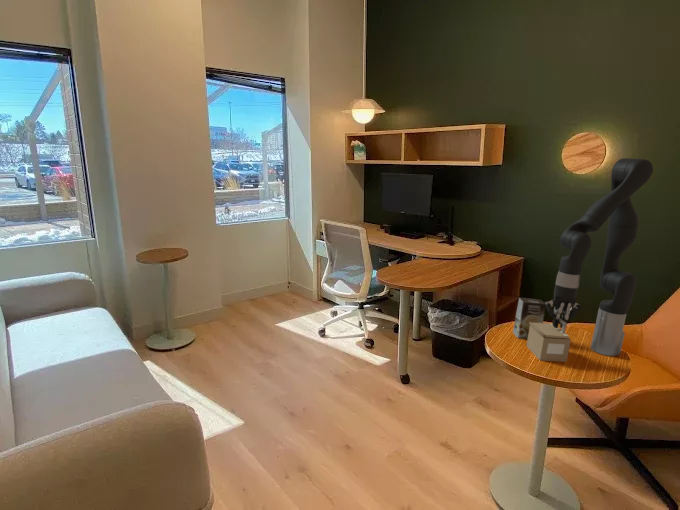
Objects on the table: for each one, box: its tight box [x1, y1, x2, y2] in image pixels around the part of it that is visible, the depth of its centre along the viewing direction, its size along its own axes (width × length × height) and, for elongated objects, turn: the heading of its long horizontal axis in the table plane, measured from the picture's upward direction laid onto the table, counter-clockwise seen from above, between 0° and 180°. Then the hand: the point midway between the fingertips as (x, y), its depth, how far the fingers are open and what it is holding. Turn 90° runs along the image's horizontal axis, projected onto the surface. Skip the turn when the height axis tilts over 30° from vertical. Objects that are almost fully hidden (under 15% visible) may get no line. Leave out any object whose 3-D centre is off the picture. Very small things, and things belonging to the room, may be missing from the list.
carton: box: [526, 325, 572, 363], centre depth 160 cm, size 10×12×9 cm
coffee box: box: [512, 296, 546, 340], centre depth 175 cm, size 9×6×16 cm
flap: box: [529, 317, 570, 339], centre depth 158 cm, size 10×12×5 cm
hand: (558, 327), depth 158 cm, fingers closed
